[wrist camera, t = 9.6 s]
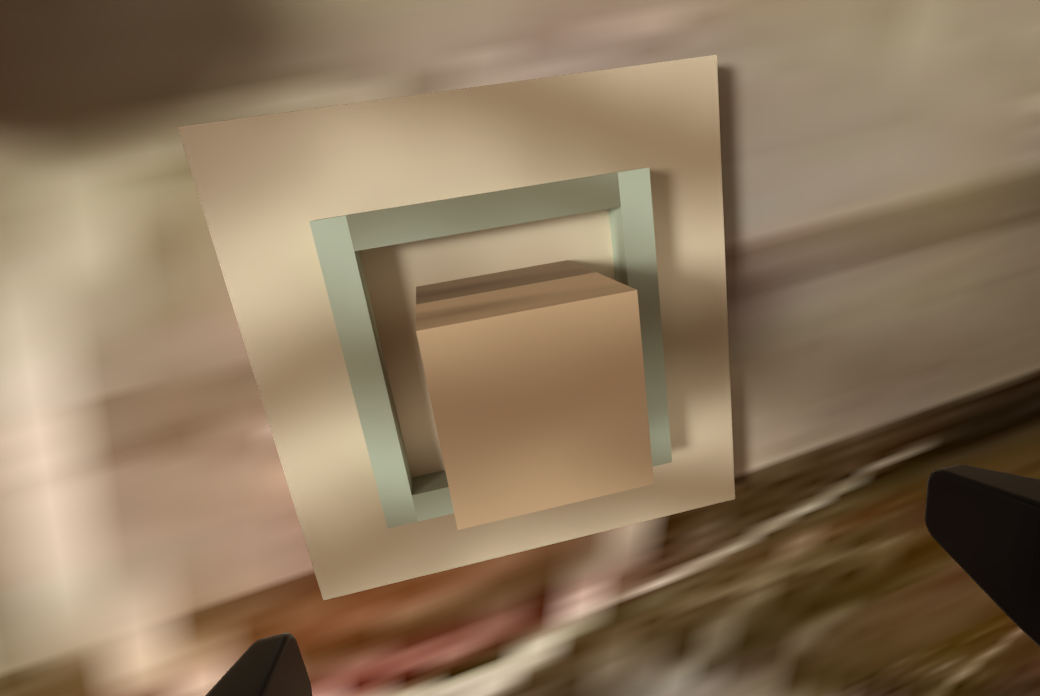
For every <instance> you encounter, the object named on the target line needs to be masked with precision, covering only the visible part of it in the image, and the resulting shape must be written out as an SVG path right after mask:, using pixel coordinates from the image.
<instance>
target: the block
mask: <svg viewBox="0 0 1040 696" xmlns="http://www.w3.org/2000/svg"><path fill="white" fill-rule="evenodd" d="M416 333H417V338H418V343H419V348H420V353H421V357H422V362H423V367H424V372H425V376H426V381H427V386H428V391H429V396H430V400H431V405H432V410H433V415H434V419H435V424H436V429H437V434H438V438H439V443H440V448H441V453H442V458H443V462H444V467H445V472H446V477H447V481H448V486H449V491H450V496H451V500H452V505H453V510H454V515H455V520H456V524H457V529H458V530H460V529H465V528H469V527H473V526H477V525H482V524H486V523H490V522H494V521H499V520H503V519H507V518H511V517H516V516H520V515H524V514H528V513H533V512H537V511H541V510H545V509H550V508H554V507H558V506H562V505H567V504H571V503H575V502H579V501H584V500H588V499H592V498H596V497H601V496H605V495H609V494H613V493H618V492H622V491H626V490H630V489H635V488H639V487H643V486H647V485H652V484H654V478H653V467H652V455H651V444H650V432H649V421H648V409H647V397H646V386H645V374H644V363H643V351H642V340H641V328H640V317H639V305H638V294H637V290H636V289H634V288H632V287H629V286H627V285H625V284H622V283H620V282H618V281H615V280H613V279H611V278H608V277H606V276H604V275H601V274H599V273H597V272H595V271H592V270H590V269H588V268H585V267H583V266H581V265H578V264H576V263H574V262H571V261H569V260H565V261H560V262H554V263H548V264H543V265H537V266H531V267H525V268H520V269H514V270H508V271H503V272H497V273H491V274H486V275H480V276H474V277H469V278H463V279H457V280H452V281H446V282H440V283H434V284H429V285H423V286H417V287H416Z"/></svg>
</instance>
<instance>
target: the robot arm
mask: <svg viewBox="0 0 1040 696" xmlns="http://www.w3.org/2000/svg"><path fill="white" fill-rule="evenodd" d="M925 523H926V526H927V529H928V531H929V532H930V534H931V536H932V537H933V538H934V539H935V540H936V541H937V542H938V543H939V544H940V545H941V546H942V548H943V549H944V550H945V551H946V552H947V553H948V554H949V555H950V556H951V557H952V558H953V559H954V560H955V561H956V562H957V563H958V564H959V565H960V566H961V567H962V568H963V569H964V571H965V572H966V573H967V574H968V575H969V576H970V577H971V578H972V579H973V580H974V581H975V582H976V583H977V584H978V585H979V586H980V587H981V588H982V589H983V590H984V591H985V592H986V594H987V595H988V596H989V597H990V598H991V599H992V600H993V601H994V602H995V603H996V604H997V605H998V606H999V607H1000V608H1001V609H1002V610H1003V611H1004V612H1005V613H1006V614H1007V615H1008V616H1009V617H1010V618H1011V619H1012V620H1013V621H1014V622H1015V623H1016V624H1017V625H1018V626H1019V627H1020V629H1021V630H1022V631H1024V632H1025V633H1026V634H1027V635H1028V636H1029V637H1030V638H1031V639H1032V640H1033V641H1034V642H1035V643H1036V644H1037V645H1039V646H1040V480H1039V479H1034V478H1029V477H1024V476H1019V475H1014V474H1008V473H1003V472H998V471H993V470H988V469H983V468H978V467H973V466H968V465H954V466H950V467H946V468H942V469H938V470H935V471H933V472H932V473H931V474H930V476H929V478H928V483H927V496H926V509H925ZM206 696H312V689H311V683H310V680H309V677H308V674H307V671H306V668H305V665H304V662H303V659H302V656H301V653H300V650H299V647H298V644H297V641H296V639H295V638H294V636H293V635H292V634H290V633H282V634H278V635H274V636H270V637H266V638H262V639H259V640H257V641H256V642H254V643H253V644H252V645H251V646H250V647H249V648H248V650H247V651H246V652H245V653H244V654H243V655H242V656H241V657H240V658H239V659H238V661H237V662H236V663H235V664H234V665H233V666H232V667H231V668H230V669H229V670H228V671H227V673H226V674H225V675H224V676H223V677H222V678H221V679H220V680H219V681H218V682H217V684H216V685H215V686H214V687H213V688H212V689H211V690H210V691H209V692H208V693H207V694H206Z"/></svg>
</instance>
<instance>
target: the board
mask: <svg viewBox="0 0 1040 696" xmlns="http://www.w3.org/2000/svg"><path fill="white" fill-rule="evenodd" d="M178 130H179V134H180V137H181V140H182V143H183V147H184V150H185V153H186V156H187V160H188V163H189V166H190V169H191V173H192V176H193V179H194V182H195V186H196V189H197V192H198V195H199V199H200V202H201V205H202V208H203V211H204V215H205V218H206V221H207V224H208V228H209V231H210V234H211V237H212V241H213V244H214V247H215V250H216V254H217V257H218V260H219V263H220V267H221V270H222V273H223V276H224V280H225V283H226V286H227V289H228V293H229V296H230V299H231V302H232V305H233V309H234V312H235V315H236V318H237V322H238V325H239V328H240V331H241V335H242V338H243V341H244V344H245V348H246V351H247V354H248V357H249V361H250V364H251V367H252V370H253V374H254V377H255V380H256V383H257V387H258V390H259V393H260V396H261V400H262V403H263V406H264V409H265V412H266V416H267V419H268V422H269V425H270V429H271V432H272V435H273V438H274V442H275V445H276V448H277V451H278V455H279V458H280V461H281V464H282V468H283V471H284V474H285V477H286V481H287V484H288V487H289V490H290V494H291V497H292V500H293V503H294V506H295V510H296V513H297V516H298V519H299V523H300V526H301V529H302V532H303V536H304V539H305V542H306V545H307V549H308V552H309V555H310V558H311V562H312V565H313V568H314V571H315V575H316V578H317V581H318V584H319V588H320V591H321V594H322V597H323V600H327V599H331V598H335V597H339V596H343V595H347V594H351V593H355V592H359V591H363V590H367V589H371V588H376V587H380V586H384V585H388V584H392V583H396V582H400V581H404V580H408V579H412V578H416V577H420V576H424V575H428V574H432V573H436V572H440V571H444V570H449V569H453V568H457V567H461V566H465V565H469V564H473V563H477V562H481V561H485V560H489V559H493V558H497V557H501V556H505V555H509V554H513V553H518V552H522V551H526V550H530V549H534V548H538V547H542V546H546V545H550V544H554V543H558V542H562V541H566V540H570V539H574V538H578V537H582V536H586V535H591V534H595V533H599V532H603V531H607V530H611V529H615V528H619V527H623V526H627V525H631V524H635V523H639V522H643V521H647V520H651V519H655V518H660V517H664V516H668V515H672V514H676V513H680V512H684V511H688V510H692V509H696V508H700V507H704V506H708V505H712V504H716V503H720V502H724V501H728V500H733V499H735V485H734V461H733V436H732V412H731V388H730V363H729V339H728V315H727V290H726V266H725V242H724V217H723V193H722V169H721V144H720V120H719V96H718V71H717V55H712V56H705V57H697V58H690V59H682V60H675V61H667V62H660V63H652V64H645V65H637V66H630V67H622V68H615V69H607V70H600V71H592V72H585V73H577V74H570V75H562V76H555V77H547V78H540V79H532V80H525V81H517V82H510V83H502V84H495V85H487V86H480V87H472V88H465V89H457V90H450V91H442V92H435V93H427V94H420V95H412V96H405V97H397V98H390V99H382V100H375V101H367V102H360V103H352V104H345V105H337V106H330V107H322V108H315V109H307V110H300V111H292V112H285V113H277V114H270V115H262V116H255V117H247V118H240V119H232V120H225V121H217V122H210V123H202V124H195V125H187V126H180V127H178ZM565 260H569V261H571V262H574V263H576V264H578V265H581V266H583V267H585V268H588V269H590V270H592V271H595V272H597V273H599V274H601V275H604V276H606V277H608V278H611V279H613V280H615V281H618V282H620V283H622V284H625V285H627V286H629V287H632V288H634V289H636V290H637V294H638V305H639V317H640V328H641V340H642V351H643V363H644V374H645V386H646V397H647V409H648V421H649V432H650V444H651V455H652V467H653V478H654V484H652V485H647V486H643V487H639V488H635V489H630V490H626V491H622V492H618V493H613V494H609V495H605V496H601V497H596V498H592V499H588V500H584V501H579V502H575V503H571V504H567V505H562V506H558V507H554V508H550V509H545V510H541V511H537V512H533V513H528V514H524V515H520V516H516V517H511V518H507V519H503V520H499V521H494V522H490V523H486V524H482V525H477V526H473V527H469V528H465V529H460V530H458V529H457V524H456V520H455V515H454V510H453V505H452V500H451V496H450V491H449V486H448V481H447V477H446V472H445V467H444V462H443V458H442V453H441V448H440V443H439V438H438V434H437V429H436V424H435V419H434V415H433V410H432V405H431V400H430V396H429V391H428V386H427V381H426V376H425V372H424V367H423V362H422V357H421V353H420V348H419V343H418V338H417V333H416V287H417V286H423V285H429V284H434V283H440V282H446V281H452V280H457V279H463V278H469V277H474V276H480V275H486V274H491V273H497V272H503V271H508V270H514V269H520V268H525V267H531V266H537V265H543V264H548V263H554V262H560V261H565Z"/></svg>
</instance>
